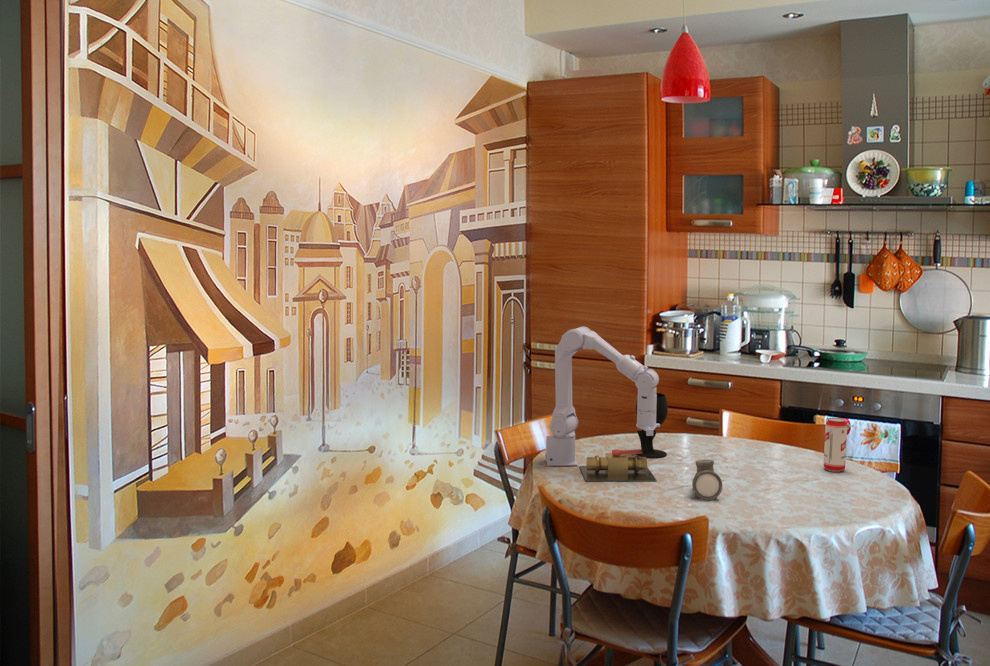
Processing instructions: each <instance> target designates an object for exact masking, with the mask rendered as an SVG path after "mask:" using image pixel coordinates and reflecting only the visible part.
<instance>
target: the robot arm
mask: <svg viewBox="0 0 990 666" xmlns="http://www.w3.org/2000/svg"><path fill="white" fill-rule="evenodd" d="M581 349H583V350H595V351H596V352H598V353H599V354H600V355H602V356H603V357H606V358H607V359H608V360H610V361H611V362H612V363H614V364H615V366H616V369H617V371H618V372H620V373H621V374H623V376H625V377H626V378H628V379H629V380H631V382H634V383H635V387H636V388H637V398H636V402H637V415H636V424H635V425H636V427H637V429H638V430H636V433H637V435H638V437H639V442H640V449H641V450H642V453H643V454H650V451H651V445H652V441H654V439H655V437H656V435H657V431H656V429H655V428H656V427H658V428H661V426H660V424H658V423H656V403H657V395H656V393H657V390H658V389H657V385H659V382H660V377H659V374H658V373H657V372H656V370H654V368H653V369H652V368H649V367H648V366H647V365H643V364H642V363H641V362H639V361H638V360H636V356H635V355H633V354H631V355H630V354H622V353H621V352H619V351H618V350H617V349H616V348H615V347H613V346H612V345H611V344H610V343H609V342H607V341H606V340H604V339H603V338H602V337H601V336H600V335H599V334H598V333H597V332H595V331H594V330H591V329H590V328H589V327H587V326H584V325H583V326H579V327H577V328H571V329H568V330H567V331H566V332H565V333H563V334H562V335H561V339H560V341H559V342H558V345H556V348H555V350H554V374H555V375H554V376H555V377H554V378H555V379H554V381H555V384H554V386H555V407H554V409H553V411H552V414H551V415H552V418H551V421H550V423H549V430H550V432H551V434H552V435H546V438H545V453H544V454H545V455H544V457H545V462H546V465H547V466H548V467H552V466H553V467H555V466H557V467H561V466H563V467H565V466H566V467H567V466H569V467H572V466H574V467H575V466H577V467H578V461H577V460H576V433H575V432H576V431H575V430H577V428H578V426H579V419H578V416H577V414H576V409H575V406H574V405H573V363H572V362H573V359H572V358H573V356H574V355H576V353H578V351H579V350H581ZM654 429H655V430H654Z"/></svg>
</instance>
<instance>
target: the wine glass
mask: <svg viewBox="0 0 990 666" xmlns="http://www.w3.org/2000/svg"><path fill="white" fill-rule="evenodd" d="M656 395H657V403H656V423H658V424H660V427H661V426H662V425H663V423H664V422H665V421H666V419H667V417H668V411H669V405H668V401H667V397H666V394H664V393H660V392H656ZM635 414H636V416H637V401H636V404H635ZM658 428H659V427H656V428H655V429H654V430H655V431H656V430H657V429H658ZM653 441H654V440H653ZM653 441H652V445H651V451H650V454H635V455H638V457H646V458H647V459H660V458H665V457H666V456H667V455H668V454H667V453H668V452H666V451H664V450H660V449H655V448H654V443H653Z"/></svg>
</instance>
